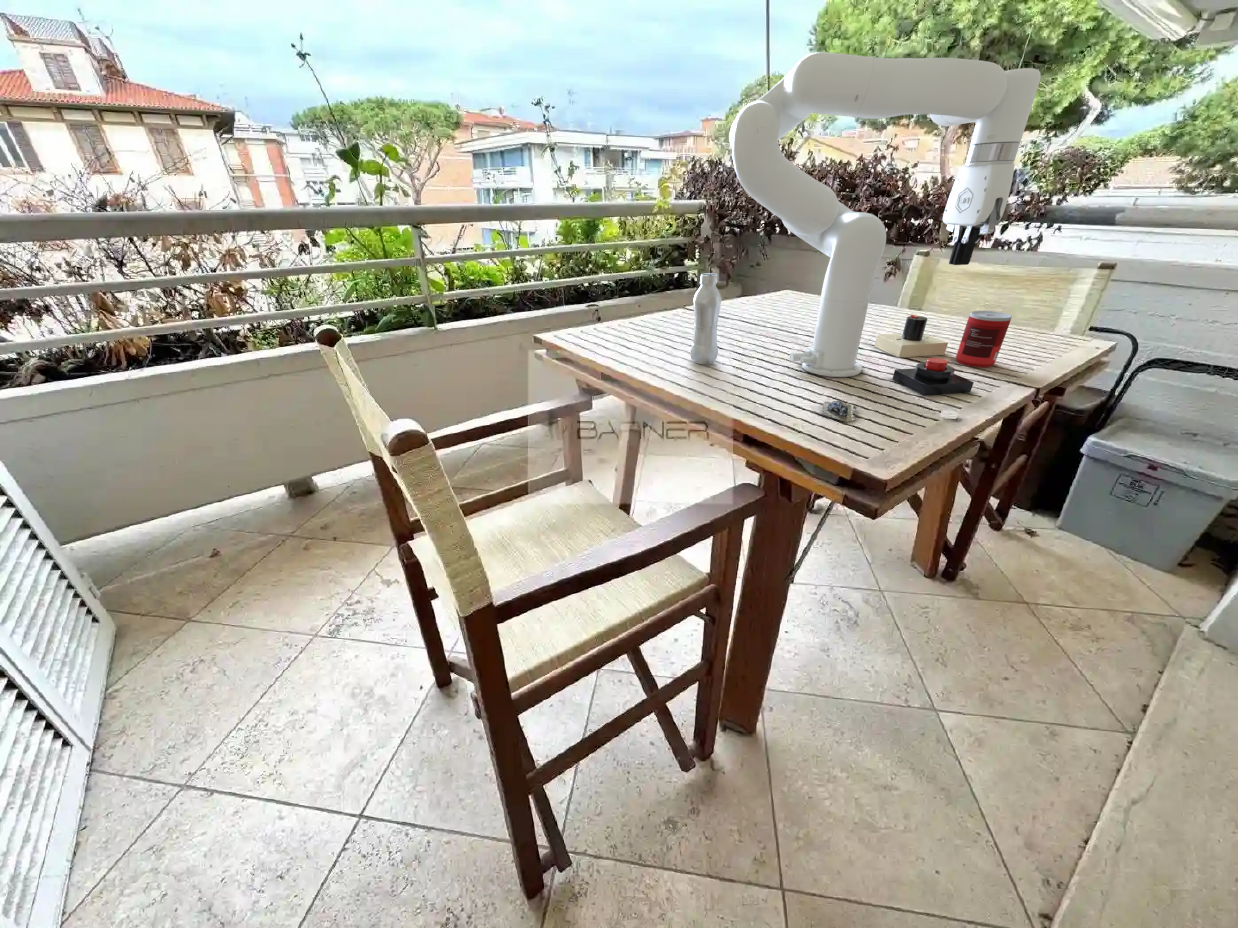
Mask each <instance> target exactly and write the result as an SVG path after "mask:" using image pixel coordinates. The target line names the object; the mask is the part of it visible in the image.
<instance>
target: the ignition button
mask: <svg viewBox="0 0 1238 928" xmlns="http://www.w3.org/2000/svg"><path fill="white" fill-rule="evenodd" d="M925 362H926V365H925V368H928V369H932V370H946V366H947V365H948V363H949V361H948V360H946V359H944V358H940V357H929V358H926V361H925Z"/></svg>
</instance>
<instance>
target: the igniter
mask: <svg viewBox="0 0 1238 928" xmlns="http://www.w3.org/2000/svg"><path fill="white" fill-rule="evenodd" d="M926 362H927V361H925V362H919V363H917V364H916V365H915V368H900V369H897V368H896V369H894V372H893V375H892V380H893V381H895V382H896V383H899V384H900V385H902V386H904V387H906V388H908V389H910V390H912V391H913V392H916V393H918V394H919V395H921V396H923V397H926V396H928V397H929V396H941V395H942V396H943V395H955V394H969V393H971V392H972V389H973V386H974V383H975V382H974V381H972V380H969V379H967V378H965V377H963V376H960V375H958V374H956V373H955V370H956V369H955V368H954V367H953V366H951V365H948V364H947V366H946V370H932V369H928V368H925V365H926Z"/></svg>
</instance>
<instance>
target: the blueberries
mask: <svg viewBox="0 0 1238 928" xmlns="http://www.w3.org/2000/svg"><path fill="white" fill-rule="evenodd" d="M821 412H822V413H823V415H824V416H825V417H829V418H833V419H836V420H839V421H840V422H841V421H842V422H845V423H849V422H853V421H855V420H856V418H855V417H856V415H854V414H856V412H857V406H855V405H853V404H850V403H847V402H844V401H841V400H833V401H831V402H830V401H826V400H825V401H823V403H822V407H821Z"/></svg>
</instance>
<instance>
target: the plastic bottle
mask: <svg viewBox="0 0 1238 928" xmlns="http://www.w3.org/2000/svg"><path fill="white" fill-rule="evenodd" d="M699 284H700V286H699V288H698V289H697V291H696V292H695V294H694V297H693V299H692V300H693V302H692V303H693V315H694V321H693V322H694V323H693V324H694V327H693V328H694V329H693V337H692V342H691V346H690V352H689V354H690V359H691V361H692V362H693V363H695V364H698V365H699V364H700V365H710V364H713V363H714V362H715V361H716V360H717V358H718V354H719V349H718V348H719V346H718V323H719V315H720V311H721V307H722V302H723V301H722V300H723V298H722V294H721V292H720V290H719V289H718V287H717V284H718V274H717V273H713V272H711V273H710V272H708V273H707V272H706V273H701V274H700V281H699Z"/></svg>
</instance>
